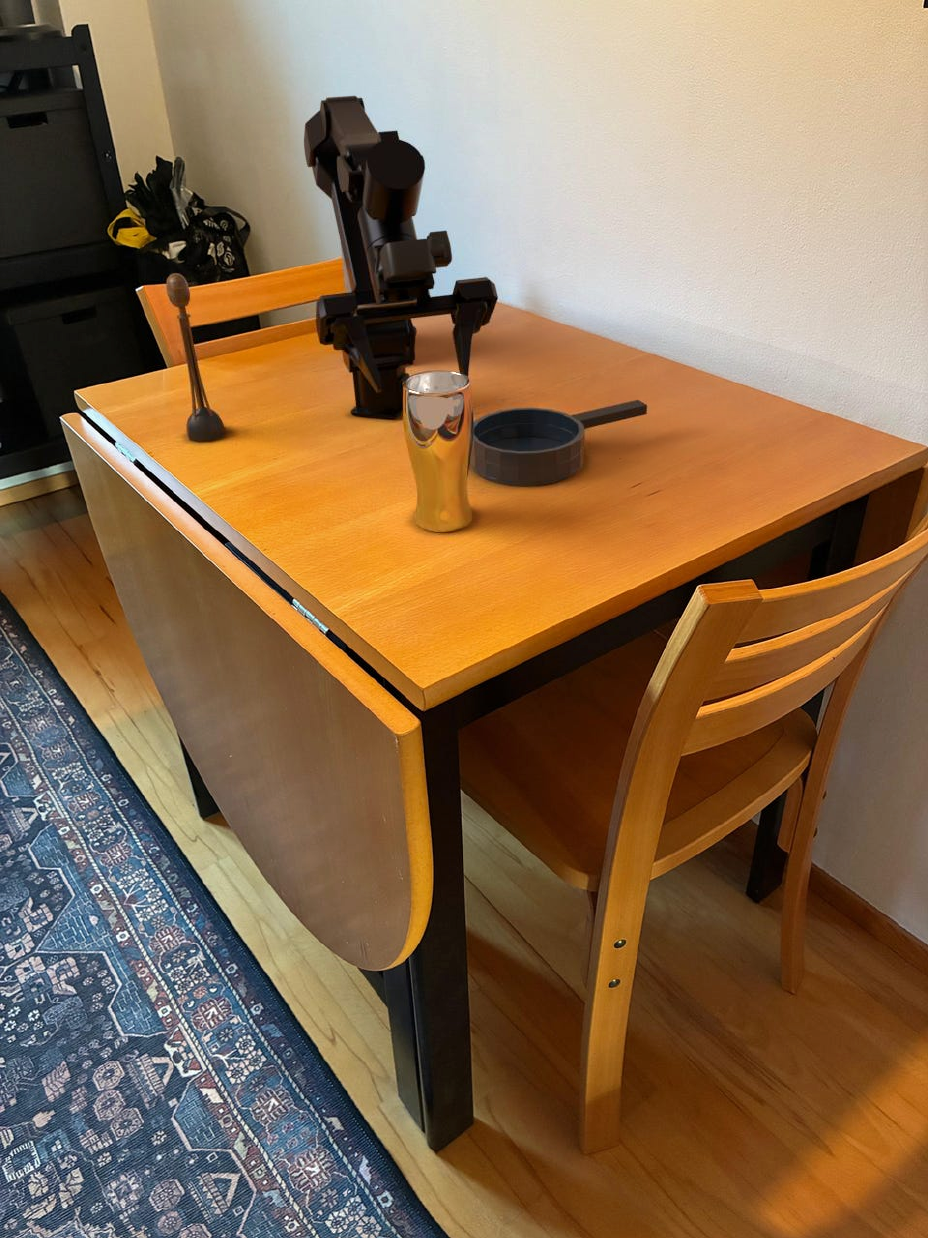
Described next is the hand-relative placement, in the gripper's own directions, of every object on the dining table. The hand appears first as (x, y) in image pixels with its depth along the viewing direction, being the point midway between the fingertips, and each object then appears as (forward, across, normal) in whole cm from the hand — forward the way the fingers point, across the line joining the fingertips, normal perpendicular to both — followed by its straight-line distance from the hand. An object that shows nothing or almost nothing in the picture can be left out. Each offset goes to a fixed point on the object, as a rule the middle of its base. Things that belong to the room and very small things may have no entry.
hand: (422, 384), depth 100 cm
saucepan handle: (+2, +24, +11) cm, 26 cm away
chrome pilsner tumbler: (+13, 0, +5) cm, 14 cm away
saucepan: (+6, +13, +12) cm, 18 cm away
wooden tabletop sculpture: (-10, -23, +28) cm, 37 cm away
